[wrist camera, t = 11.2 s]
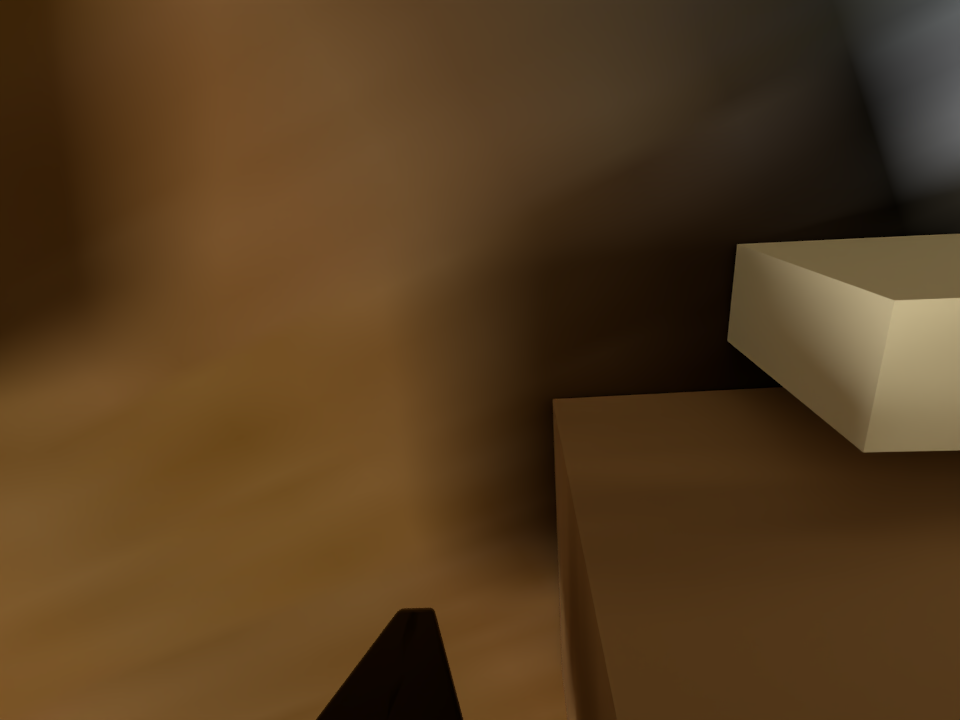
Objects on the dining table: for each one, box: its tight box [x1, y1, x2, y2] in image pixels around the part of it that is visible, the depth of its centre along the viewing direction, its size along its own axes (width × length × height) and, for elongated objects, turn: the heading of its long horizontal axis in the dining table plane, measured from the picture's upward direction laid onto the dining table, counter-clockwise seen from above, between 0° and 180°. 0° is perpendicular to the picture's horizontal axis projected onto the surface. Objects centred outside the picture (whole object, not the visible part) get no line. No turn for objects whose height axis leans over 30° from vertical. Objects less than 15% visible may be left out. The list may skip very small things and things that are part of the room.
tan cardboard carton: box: [553, 387, 960, 720], centre depth 7 cm, size 6×9×6 cm, turn 94°
